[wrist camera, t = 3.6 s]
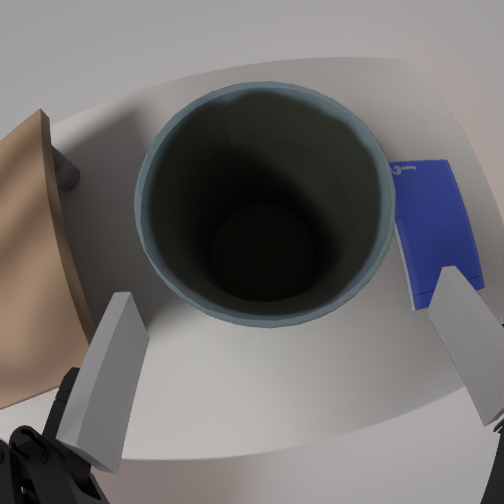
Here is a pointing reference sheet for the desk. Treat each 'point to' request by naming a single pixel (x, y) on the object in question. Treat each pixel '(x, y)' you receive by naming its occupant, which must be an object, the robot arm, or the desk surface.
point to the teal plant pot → (265, 204)
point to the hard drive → (431, 227)
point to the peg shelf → (37, 268)
